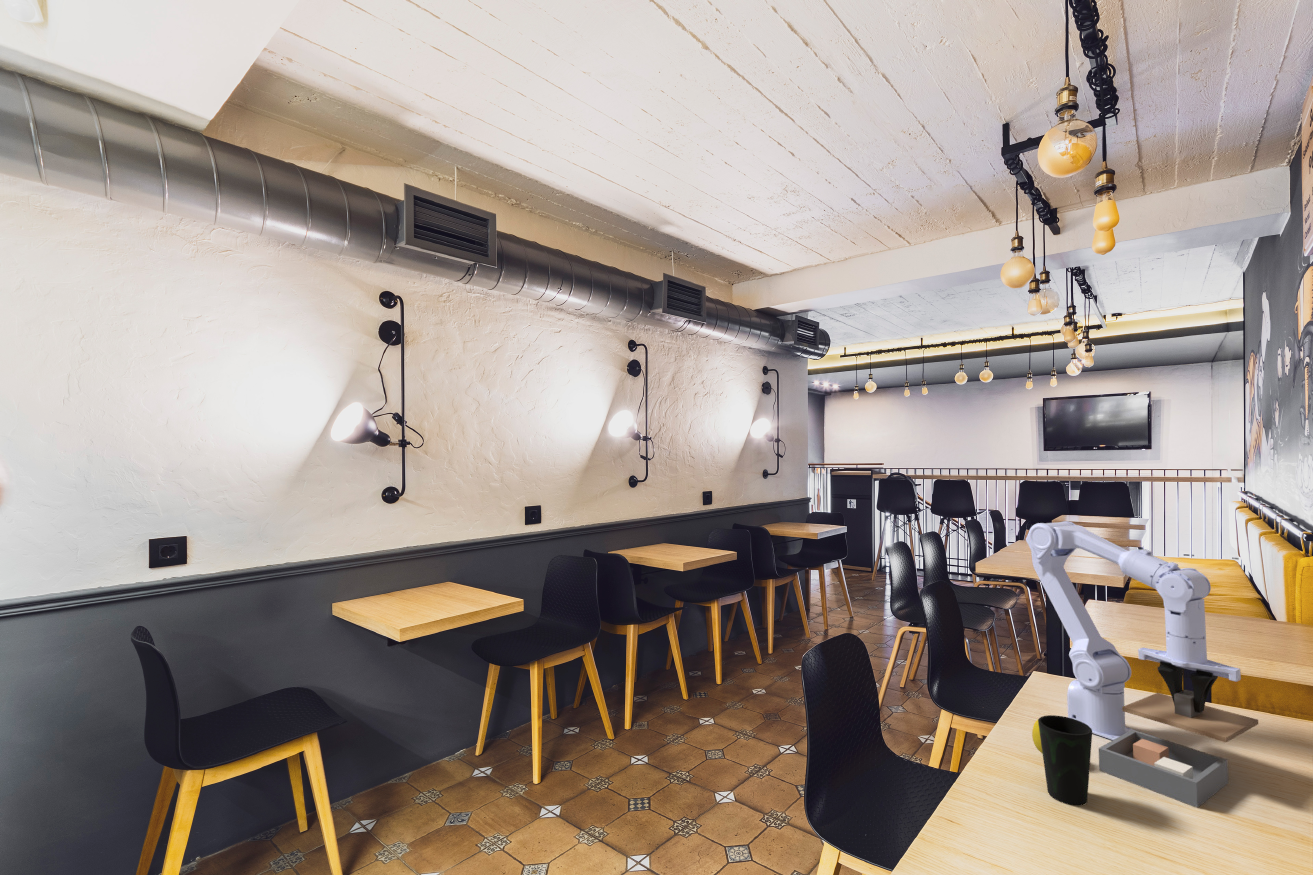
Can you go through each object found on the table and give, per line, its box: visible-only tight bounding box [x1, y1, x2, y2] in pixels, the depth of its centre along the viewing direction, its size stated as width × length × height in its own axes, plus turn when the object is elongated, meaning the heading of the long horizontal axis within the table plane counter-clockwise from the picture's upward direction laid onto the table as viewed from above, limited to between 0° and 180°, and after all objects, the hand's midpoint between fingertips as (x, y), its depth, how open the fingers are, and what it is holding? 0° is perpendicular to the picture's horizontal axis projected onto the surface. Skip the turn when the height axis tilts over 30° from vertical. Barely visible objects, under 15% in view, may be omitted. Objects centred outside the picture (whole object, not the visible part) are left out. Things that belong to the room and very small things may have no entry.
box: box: [1098, 729, 1229, 808], centre depth 108 cm, size 14×14×4 cm
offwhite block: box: [1154, 757, 1193, 779], centre depth 105 cm, size 4×4×3 cm
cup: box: [1037, 714, 1093, 807], centre depth 103 cm, size 8×8×12 cm
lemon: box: [1031, 719, 1043, 755], centre depth 115 cm, size 6×6×8 cm
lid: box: [1122, 689, 1259, 743], centre depth 112 cm, size 15×15×4 cm
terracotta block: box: [1133, 739, 1169, 766], centre depth 112 cm, size 4×4×3 cm
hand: (1188, 708), depth 112 cm, fingers closed on lid, 2 cm apart
